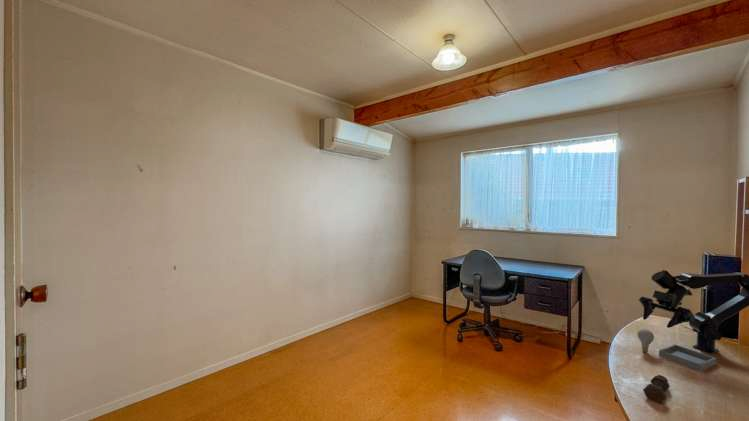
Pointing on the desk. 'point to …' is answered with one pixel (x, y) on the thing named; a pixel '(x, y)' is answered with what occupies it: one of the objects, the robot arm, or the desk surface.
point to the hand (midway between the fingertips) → (655, 323)
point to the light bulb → (645, 338)
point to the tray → (687, 357)
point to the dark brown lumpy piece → (657, 389)
